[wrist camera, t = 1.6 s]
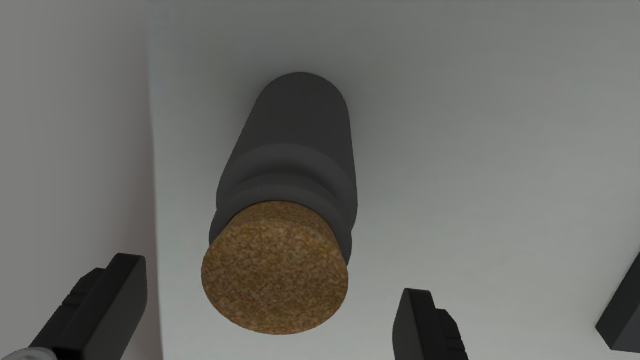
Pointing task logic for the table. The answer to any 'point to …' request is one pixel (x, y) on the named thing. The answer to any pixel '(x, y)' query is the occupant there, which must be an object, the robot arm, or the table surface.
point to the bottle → (285, 211)
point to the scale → (623, 314)
